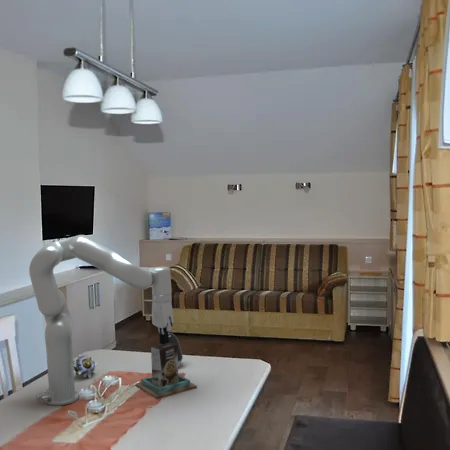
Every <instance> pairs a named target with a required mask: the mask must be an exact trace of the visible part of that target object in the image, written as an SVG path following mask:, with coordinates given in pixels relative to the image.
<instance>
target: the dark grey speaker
mask: <svg viewBox="0 0 450 450" xmlns="http://www.w3.org/2000/svg"><path fill="white" fill-rule="evenodd" d="M168 336H169V343H173V344H177V351H178V367H180V366H181V364H182V361H183V357H184V356H183V351H182V347H181V345H180V344H181V343H180V341H179V339H178V337H177V336H176V334H174V333H172V332H171V333H170V332H169V333H168Z"/></svg>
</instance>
